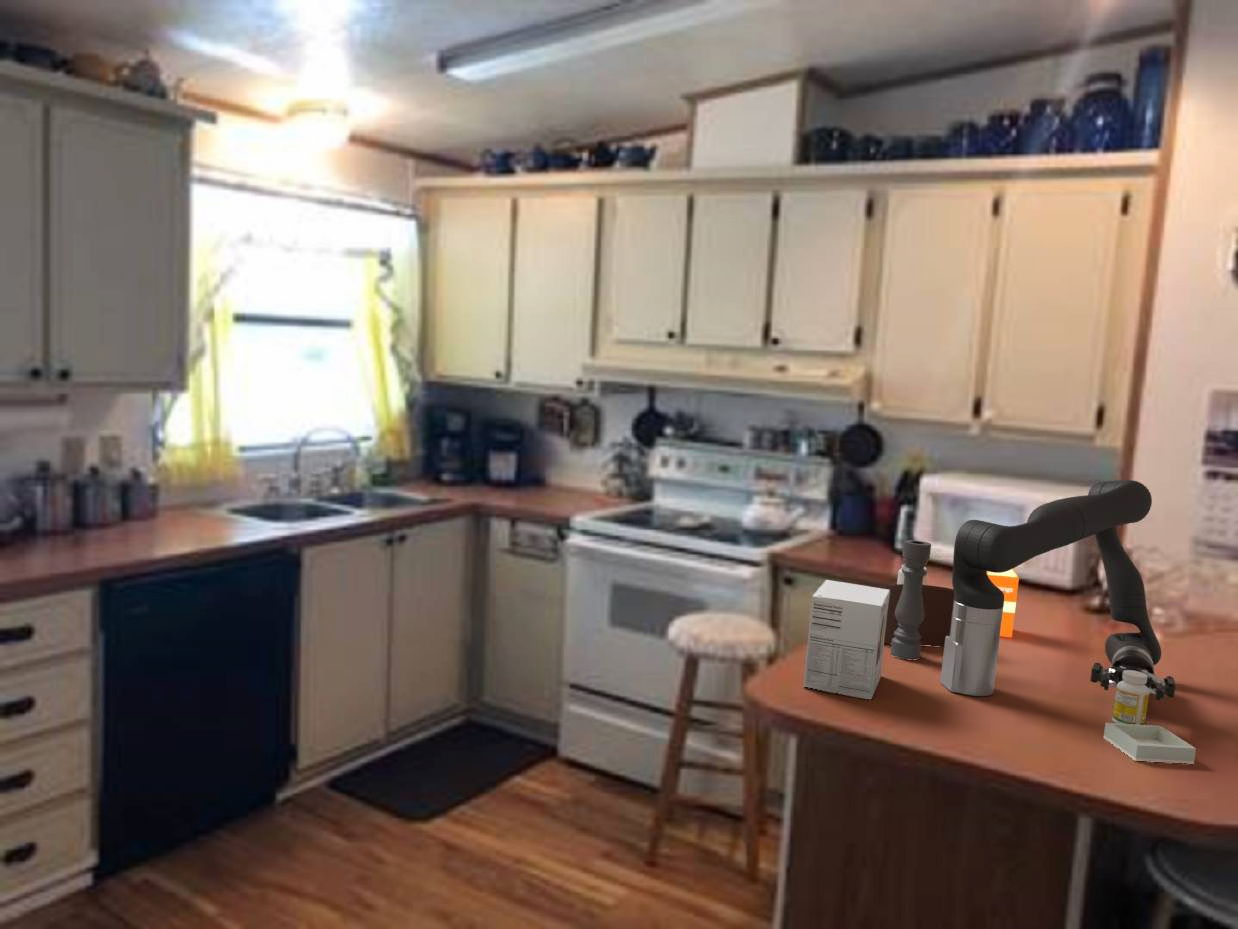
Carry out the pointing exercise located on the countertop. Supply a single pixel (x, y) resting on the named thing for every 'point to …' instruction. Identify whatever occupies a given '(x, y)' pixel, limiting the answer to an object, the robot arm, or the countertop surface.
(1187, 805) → the countertop surface
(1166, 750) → the square tray
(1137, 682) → the supplement bottle
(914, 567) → the candle holder
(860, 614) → the supplement box
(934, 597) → the letter holder
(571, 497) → the countertop surface
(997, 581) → the orange juice
